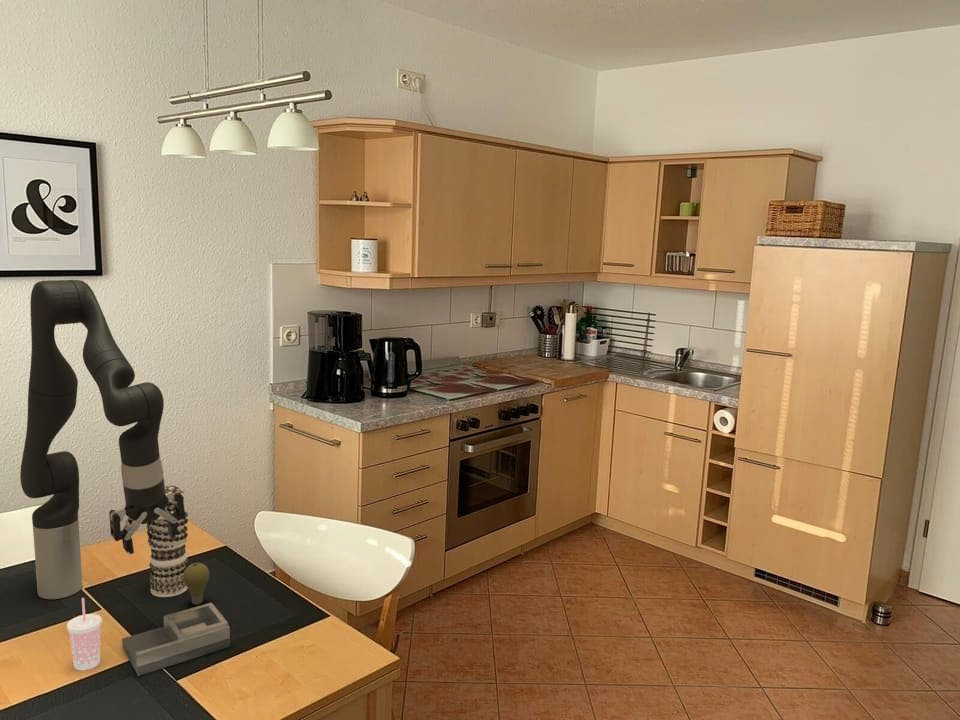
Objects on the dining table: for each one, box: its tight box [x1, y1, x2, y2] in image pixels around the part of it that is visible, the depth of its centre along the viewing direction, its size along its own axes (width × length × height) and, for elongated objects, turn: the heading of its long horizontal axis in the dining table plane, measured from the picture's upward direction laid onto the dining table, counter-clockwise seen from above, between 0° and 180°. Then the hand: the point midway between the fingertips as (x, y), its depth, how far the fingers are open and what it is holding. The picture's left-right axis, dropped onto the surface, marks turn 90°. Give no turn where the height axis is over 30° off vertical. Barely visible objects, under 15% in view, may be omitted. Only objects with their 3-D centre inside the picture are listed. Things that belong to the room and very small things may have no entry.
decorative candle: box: [146, 485, 189, 598], centre depth 176 cm, size 9×9×25 cm
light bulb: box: [183, 562, 210, 606], centre depth 171 cm, size 6×6×10 cm
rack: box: [121, 602, 231, 677], centre depth 154 cm, size 12×18×5 cm, turn 128°
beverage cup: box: [66, 597, 103, 671], centre depth 146 cm, size 6×6×14 cm
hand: (151, 544), depth 156 cm, fingers open, 8 cm apart
